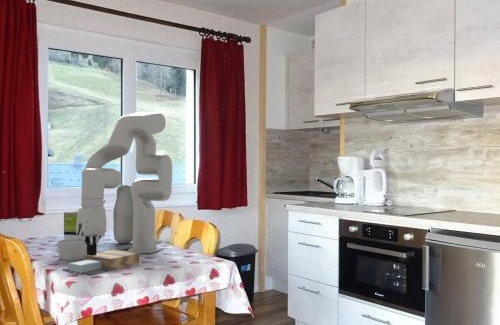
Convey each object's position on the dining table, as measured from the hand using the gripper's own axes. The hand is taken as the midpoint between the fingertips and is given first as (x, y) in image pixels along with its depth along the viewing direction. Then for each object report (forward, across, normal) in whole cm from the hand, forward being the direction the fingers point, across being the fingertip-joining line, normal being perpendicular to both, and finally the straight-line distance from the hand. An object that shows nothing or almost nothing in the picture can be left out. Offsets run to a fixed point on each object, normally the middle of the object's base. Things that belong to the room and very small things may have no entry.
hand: (91, 255), depth 161 cm
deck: (+5, -10, 0) cm, 11 cm away
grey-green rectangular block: (+5, +2, 0) cm, 5 cm away
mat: (+5, +2, 0) cm, 5 cm away
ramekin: (+5, -10, -22) cm, 25 cm away
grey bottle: (+5, -46, -32) cm, 57 cm away
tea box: (+5, -42, -57) cm, 71 cm away
